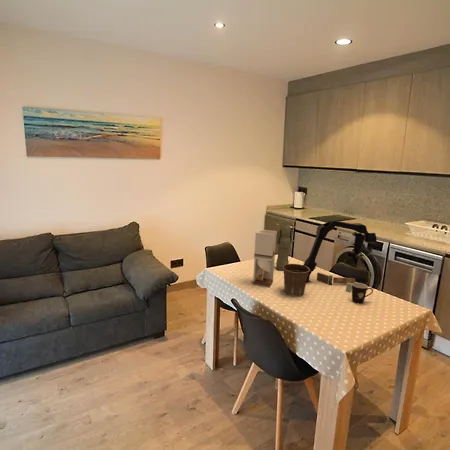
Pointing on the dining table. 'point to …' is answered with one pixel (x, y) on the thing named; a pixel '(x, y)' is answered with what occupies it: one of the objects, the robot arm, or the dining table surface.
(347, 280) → the gate
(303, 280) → the plant pot
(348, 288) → the latch stile
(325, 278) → the hinge post
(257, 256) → the grey dispenser tower
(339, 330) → the dining table surface
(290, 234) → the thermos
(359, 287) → the coffee mug
